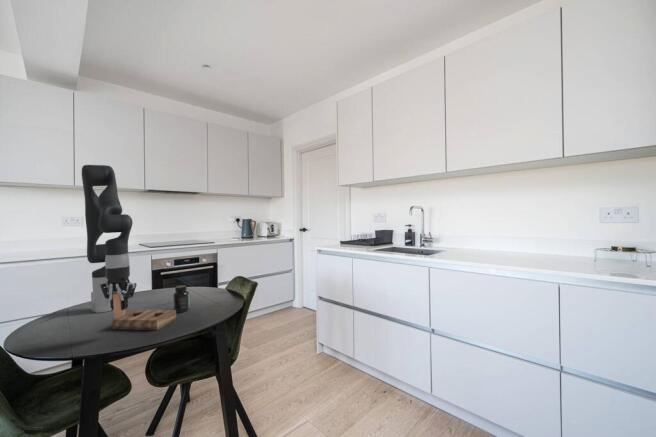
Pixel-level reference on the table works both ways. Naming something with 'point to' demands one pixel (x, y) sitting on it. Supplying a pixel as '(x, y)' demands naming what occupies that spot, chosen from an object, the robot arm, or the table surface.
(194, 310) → the table surface
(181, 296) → the supplement bottle
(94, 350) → the table surface
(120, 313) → the orange tall block
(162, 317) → the wooden block with holes
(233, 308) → the table surface
